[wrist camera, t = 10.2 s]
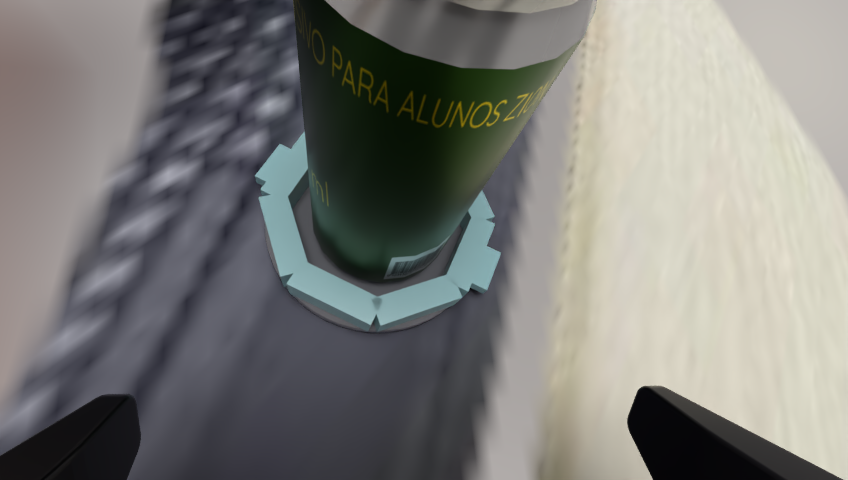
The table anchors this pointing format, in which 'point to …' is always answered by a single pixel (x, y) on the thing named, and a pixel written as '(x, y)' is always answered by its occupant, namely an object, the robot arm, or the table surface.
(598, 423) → the table surface
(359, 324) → the teal ring frame
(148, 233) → the table surface
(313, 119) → the beer can
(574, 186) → the table surface
